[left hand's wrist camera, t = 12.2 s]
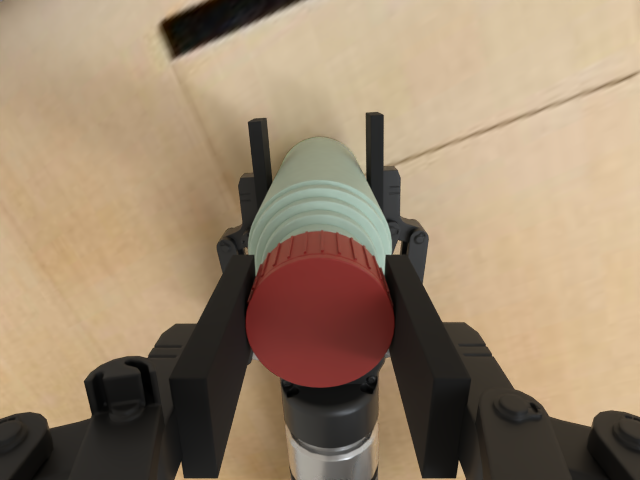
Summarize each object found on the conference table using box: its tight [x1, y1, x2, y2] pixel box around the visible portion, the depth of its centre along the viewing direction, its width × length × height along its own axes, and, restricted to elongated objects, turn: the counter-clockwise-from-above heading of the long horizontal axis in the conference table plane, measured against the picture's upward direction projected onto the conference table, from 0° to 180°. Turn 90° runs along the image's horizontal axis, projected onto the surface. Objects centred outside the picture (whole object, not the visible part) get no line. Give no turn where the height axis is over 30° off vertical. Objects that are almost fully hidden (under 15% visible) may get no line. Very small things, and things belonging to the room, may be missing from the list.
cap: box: [245, 230, 395, 388], centre depth 14 cm, size 5×5×2 cm
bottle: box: [248, 137, 392, 275], centre depth 23 cm, size 6×6×21 cm
